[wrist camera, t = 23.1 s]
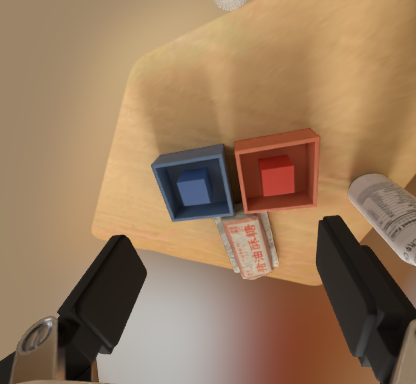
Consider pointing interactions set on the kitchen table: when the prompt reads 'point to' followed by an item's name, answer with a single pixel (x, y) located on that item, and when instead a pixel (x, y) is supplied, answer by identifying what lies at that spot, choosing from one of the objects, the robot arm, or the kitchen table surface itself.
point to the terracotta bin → (275, 146)
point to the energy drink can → (387, 212)
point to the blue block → (195, 186)
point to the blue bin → (187, 160)
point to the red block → (276, 175)
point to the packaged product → (248, 242)
